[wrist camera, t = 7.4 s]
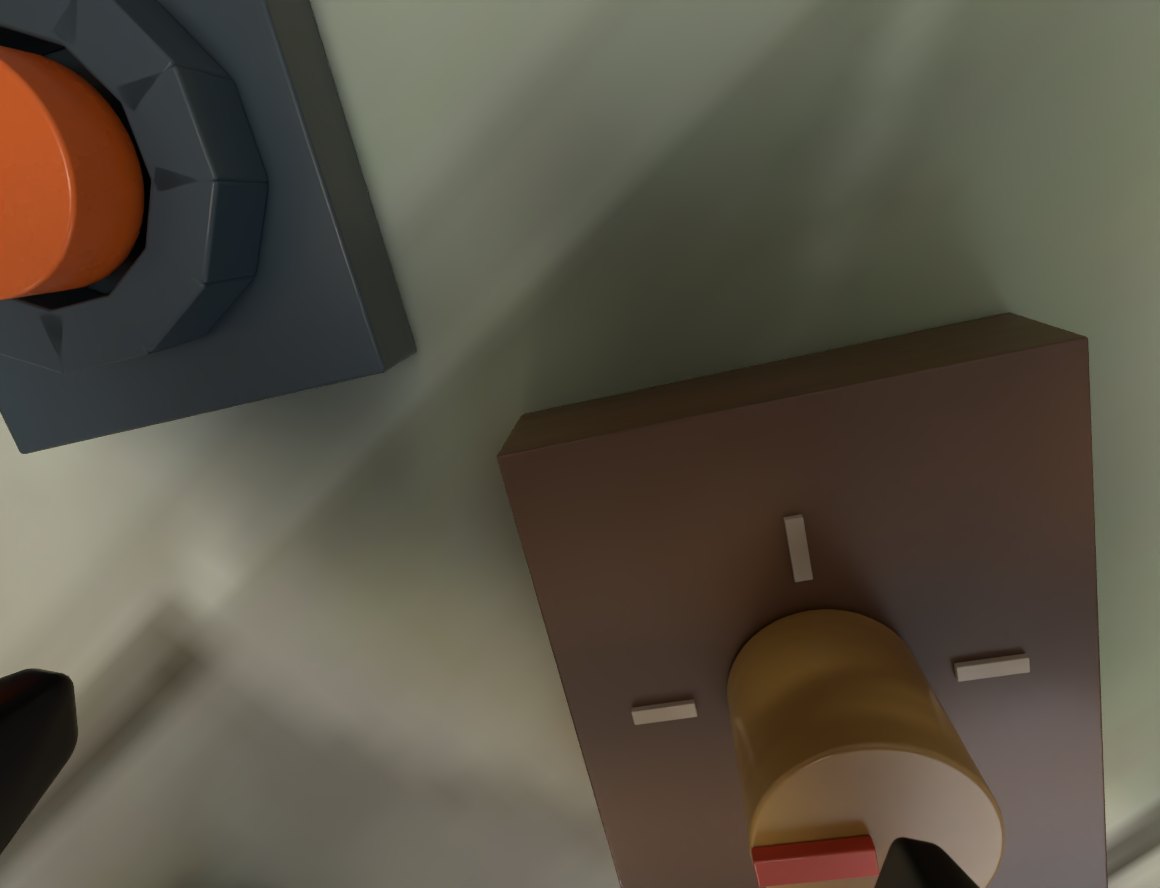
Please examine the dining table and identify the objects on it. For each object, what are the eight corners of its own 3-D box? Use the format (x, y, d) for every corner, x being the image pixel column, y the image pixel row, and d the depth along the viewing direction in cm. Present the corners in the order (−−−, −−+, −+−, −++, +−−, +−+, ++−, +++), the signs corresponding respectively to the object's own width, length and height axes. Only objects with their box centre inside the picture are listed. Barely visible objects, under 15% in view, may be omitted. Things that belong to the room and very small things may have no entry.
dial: (909, 592, 15) (1007, 742, 11) (929, 753, 16) (1024, 944, 12) (710, 623, 15) (731, 777, 11) (743, 776, 16) (773, 965, 12)
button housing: (418, 351, 17) (351, 394, 13) (90, 427, 19) (-53, 484, 15) (266, -141, 14) (128, -262, 11) (-107, -6, 16) (-346, -69, 12)
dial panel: (1043, 791, 19) (1113, 900, 16) (636, 836, 21) (633, 940, 18) (1010, 311, 16) (1094, 337, 13) (520, 414, 17) (493, 458, 14)
